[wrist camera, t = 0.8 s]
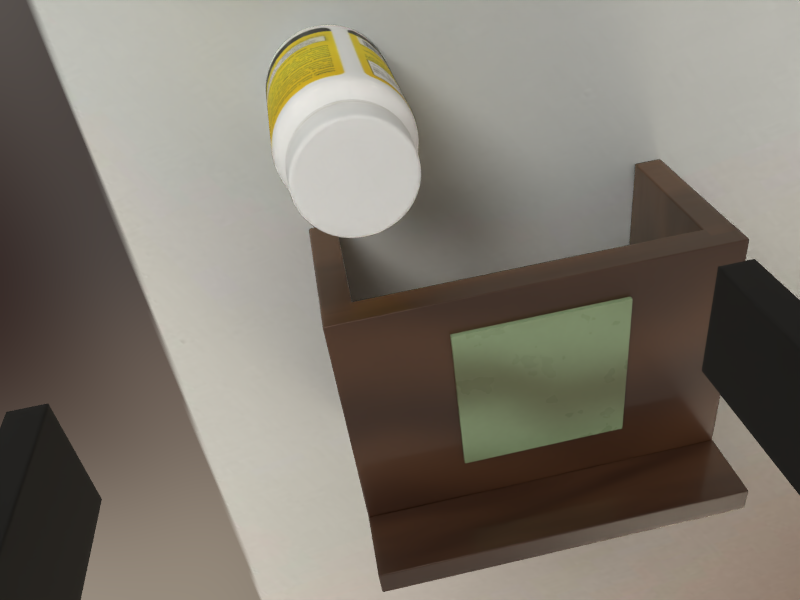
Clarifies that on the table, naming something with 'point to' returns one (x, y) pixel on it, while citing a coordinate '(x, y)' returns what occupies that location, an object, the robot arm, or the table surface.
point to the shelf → (537, 394)
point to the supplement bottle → (341, 132)
